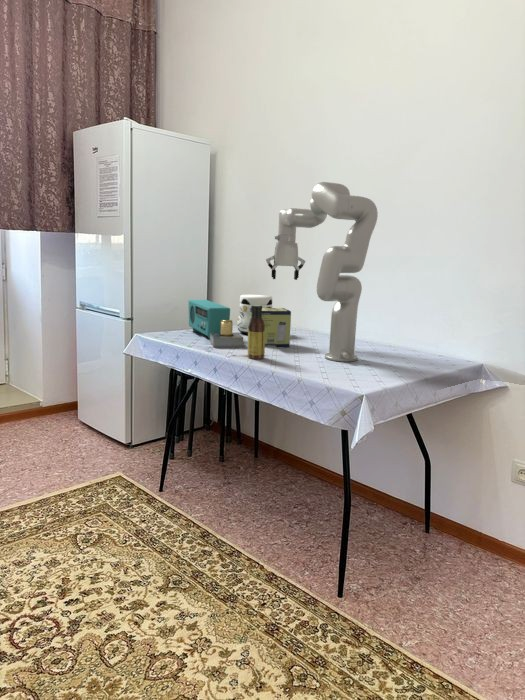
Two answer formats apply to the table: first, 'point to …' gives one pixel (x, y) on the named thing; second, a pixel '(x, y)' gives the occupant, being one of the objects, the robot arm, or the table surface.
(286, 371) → the table surface
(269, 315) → the protein box
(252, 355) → the sauce bottle
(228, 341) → the housing
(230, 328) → the gold drink can
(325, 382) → the table surface
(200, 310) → the radio
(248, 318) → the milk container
